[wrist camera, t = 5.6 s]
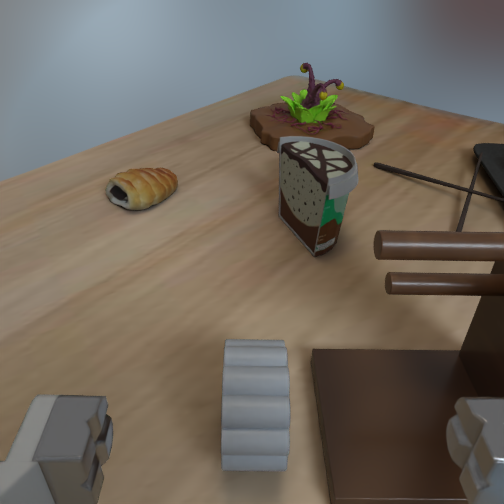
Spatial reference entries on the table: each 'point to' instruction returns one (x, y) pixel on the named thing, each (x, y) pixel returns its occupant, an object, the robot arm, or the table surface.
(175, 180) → the pastry
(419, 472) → the stand
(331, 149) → the halved ice cream tub
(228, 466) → the grey knurled ring
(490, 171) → the sushi plate
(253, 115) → the plant
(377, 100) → the table surface
